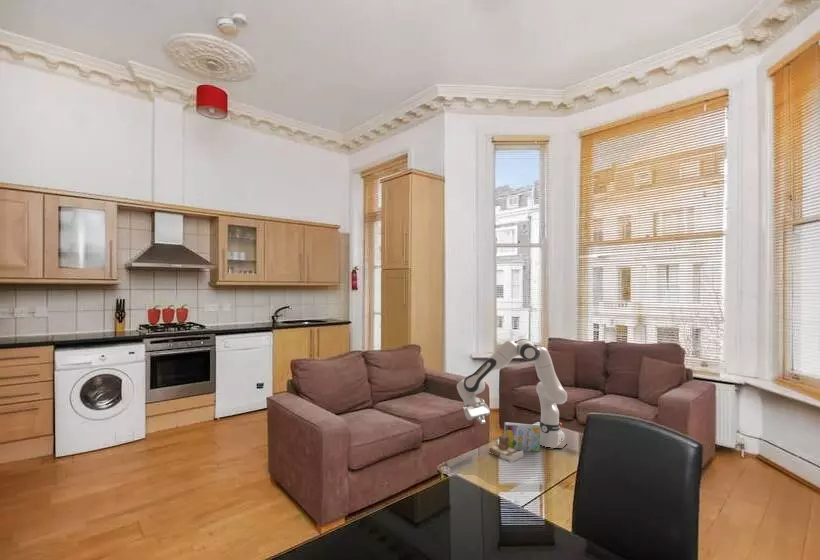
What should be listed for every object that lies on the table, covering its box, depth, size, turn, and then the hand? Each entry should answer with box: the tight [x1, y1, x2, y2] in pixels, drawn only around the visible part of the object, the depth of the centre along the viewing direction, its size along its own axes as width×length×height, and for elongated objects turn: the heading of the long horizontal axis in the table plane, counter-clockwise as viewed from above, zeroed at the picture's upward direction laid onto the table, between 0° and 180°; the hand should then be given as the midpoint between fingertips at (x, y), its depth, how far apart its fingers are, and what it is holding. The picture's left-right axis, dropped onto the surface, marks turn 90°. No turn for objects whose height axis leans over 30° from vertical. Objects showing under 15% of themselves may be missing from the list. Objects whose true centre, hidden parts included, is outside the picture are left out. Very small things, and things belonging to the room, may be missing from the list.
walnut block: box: [498, 434, 509, 450], centre depth 246 cm, size 4×4×7 cm
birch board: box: [489, 443, 518, 458], centre depth 246 cm, size 12×11×3 cm
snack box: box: [503, 421, 541, 453], centre depth 255 cm, size 21×6×15 cm, turn 84°
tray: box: [499, 450, 524, 463], centre depth 241 cm, size 12×8×4 cm, turn 132°
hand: (483, 423), depth 258 cm, fingers closed
